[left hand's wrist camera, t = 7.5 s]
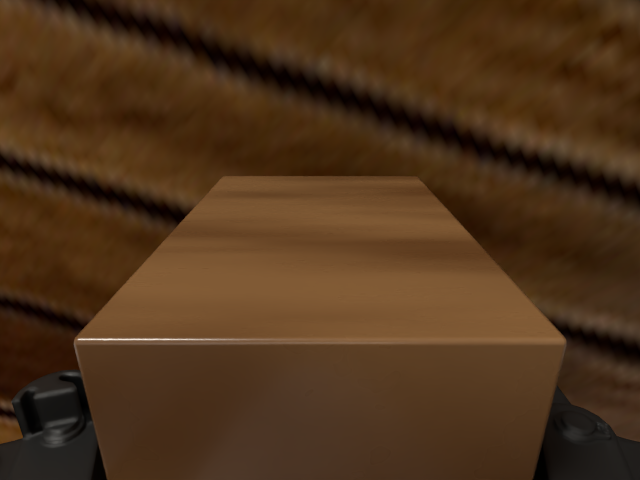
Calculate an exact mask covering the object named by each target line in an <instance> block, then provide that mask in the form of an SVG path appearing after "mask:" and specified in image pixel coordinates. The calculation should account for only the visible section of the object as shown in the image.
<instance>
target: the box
mask: <svg viewBox="0 0 640 480" xmlns="http://www.w3.org/2000/svg"><path fill="white" fill-rule="evenodd" d="M566 346H567V343H566V339H565V337H564V336H563V335H562V334H561V333H560V332H559V331H558V329H557V328H556V327H555V326H554V325H553V324H552V323H551V322H550V321H549V320H548V319H547V317H546V316H545V315H544V314H543V313H542V312H541V311H540V310H539V309H538V308H537V307H536V305H535V304H534V303H533V302H532V301H531V300H530V299H529V298H528V297H527V296H526V294H525V293H524V292H523V291H522V290H521V289H520V288H519V287H518V286H517V285H516V284H515V282H514V281H513V280H512V279H511V278H510V277H509V276H508V275H507V274H506V273H505V272H504V270H503V269H502V268H501V267H500V266H499V265H498V264H497V263H496V262H495V261H494V260H493V258H492V257H491V256H490V255H489V254H488V253H487V252H486V251H485V250H484V249H483V248H482V246H481V245H480V244H479V243H478V242H477V241H476V240H475V239H474V238H473V237H472V236H471V234H470V233H469V232H468V231H467V230H466V229H465V228H464V227H463V226H462V225H461V224H460V222H459V221H458V220H457V219H456V218H455V217H454V216H453V215H452V214H451V213H450V212H449V210H448V209H447V208H446V207H445V206H444V205H443V204H442V203H441V202H440V201H439V200H438V198H437V197H436V196H435V195H434V194H433V193H432V192H431V191H430V190H429V189H428V187H427V186H426V185H425V184H424V183H423V182H422V181H421V180H420V179H419V178H418V177H417V176H224V177H222V178H221V179H220V180H219V181H218V182H217V183H216V185H215V186H214V187H213V188H212V189H211V190H210V191H209V192H208V193H207V194H206V195H205V197H204V198H203V199H202V200H201V201H200V202H199V203H198V204H197V205H196V206H195V208H194V209H193V210H192V211H191V212H190V213H189V214H188V215H187V216H186V217H185V218H184V220H183V221H182V222H181V223H180V224H179V225H178V226H177V227H176V228H175V229H174V230H173V232H172V233H171V234H170V235H169V236H168V237H167V238H166V239H165V240H164V241H163V242H162V244H161V245H160V246H159V247H158V248H157V249H156V250H155V251H154V252H153V253H152V255H151V256H150V257H149V258H148V259H147V260H146V261H145V262H144V263H143V264H142V265H141V267H140V268H139V269H138V270H137V271H136V272H135V273H134V274H133V275H132V276H131V277H130V279H129V280H128V281H127V282H126V283H125V284H124V285H123V286H122V287H121V288H120V290H119V291H118V292H117V293H116V294H115V295H114V296H113V297H112V298H111V299H110V300H109V302H108V303H107V304H106V305H105V306H104V307H103V308H102V309H101V310H100V311H99V312H98V314H97V315H96V316H95V317H94V318H93V319H92V320H91V321H90V322H89V323H88V324H87V326H86V327H85V328H84V329H83V330H82V331H81V332H80V333H79V334H78V335H77V337H76V338H75V340H74V347H75V352H76V356H77V360H78V364H79V368H80V372H81V376H82V380H83V384H84V388H85V392H86V396H87V400H88V404H89V408H90V412H91V416H92V420H93V424H94V428H95V432H96V437H97V441H98V445H99V449H100V453H101V457H102V461H103V465H104V469H105V473H106V477H107V480H533V479H534V475H535V471H536V467H537V463H538V459H539V455H540V451H541V447H542V443H543V439H544V435H545V431H546V427H547V423H548V419H549V414H550V410H551V406H552V402H553V398H554V394H555V390H556V386H557V382H558V378H559V374H560V370H561V366H562V362H563V358H564V354H565V350H566Z"/></svg>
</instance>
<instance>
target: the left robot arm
mask: <svg viewBox="0 0 640 480" xmlns="http://www.w3.org/2000/svg"><path fill="white" fill-rule="evenodd" d="M12 404H13V407H14V411H15V414H16V417H17V420H18V423H19V426H20V429H21V432H22V435H23V438H22V439H19V440H15V441H11V442H7V443H3V444H0V480H107V477H106V473H105V469H104V465H103V461H102V457H101V453H100V449H99V445H98V441H97V437H96V432H95V428H94V424H93V420H92V416H91V412H90V408H89V404H88V400H87V396H86V392H85V388H84V384H83V380H82V376H81V372H80V370H65V371H59V372H55V373H52V374H48V375H45V376H43V377H41V378H39V379H37V380H35V381H33V382H31V383H30V384H28V385H27V386H26V387H24V388H23V389H22V390H20V391H19V392H18V393H17V395H16V396H15V397H14V399H13V400H12ZM533 480H640V442H637V441H632V440H628V439H624V438H621V437H618V436H616V435H615V433H614V432H613V430H612V429H611V427H610V426H609V425H608V424H607V423H606V422H605V421H603V420H602V419H601V418H600V417H599V416H597V415H595V414H593V413H591V412H590V411H588V410H586V409H584V408H581V407H577V406H574V405H571V403H570V402H569V401H568V399H567V398H566V397H565V395H564V394H563V393H562V391H561V390H560V389H559V387H558V386H556V390H555V394H554V398H553V402H552V406H551V410H550V414H549V419H548V423H547V427H546V431H545V435H544V439H543V443H542V447H541V451H540V455H539V459H538V463H537V467H536V471H535V475H534V479H533Z"/></svg>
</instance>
